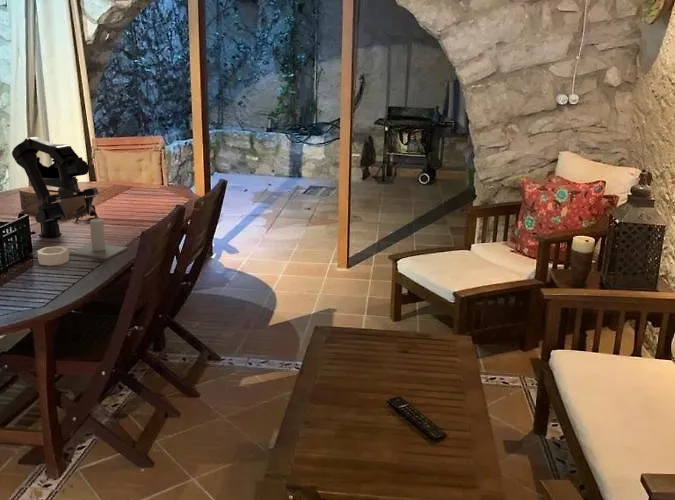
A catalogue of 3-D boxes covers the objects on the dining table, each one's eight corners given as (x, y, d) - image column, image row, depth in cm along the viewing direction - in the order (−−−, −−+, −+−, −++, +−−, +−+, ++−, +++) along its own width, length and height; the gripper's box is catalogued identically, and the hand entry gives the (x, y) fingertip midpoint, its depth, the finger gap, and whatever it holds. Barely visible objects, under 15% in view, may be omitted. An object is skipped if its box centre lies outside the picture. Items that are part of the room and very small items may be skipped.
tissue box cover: (86, 212, 318) (84, 191, 315) (62, 219, 306) (60, 197, 303) (46, 205, 328) (44, 185, 325) (21, 211, 316) (19, 190, 313)
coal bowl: (82, 193, 353) (79, 157, 348) (48, 200, 337) (44, 162, 331) (58, 188, 363) (54, 153, 358) (24, 194, 347) (20, 158, 342)
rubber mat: (69, 254, 257) (69, 252, 256) (91, 244, 269) (91, 242, 269) (106, 259, 253) (106, 257, 252) (127, 249, 266) (127, 247, 265)
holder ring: (32, 263, 246) (31, 252, 245) (50, 255, 255) (49, 245, 254) (56, 266, 244) (55, 256, 242) (74, 258, 253) (73, 248, 252)
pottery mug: (96, 224, 300) (85, 209, 296) (79, 231, 303) (67, 217, 299) (105, 211, 311) (94, 196, 307) (88, 218, 313) (77, 204, 309)
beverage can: (90, 249, 261) (88, 219, 258) (103, 247, 264) (101, 217, 260) (94, 252, 258) (91, 222, 254) (107, 250, 260) (104, 220, 257)
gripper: (36, 183, 256) (46, 223, 259) (84, 174, 256) (94, 215, 259) (47, 181, 267) (57, 219, 270) (94, 173, 267) (103, 211, 270)
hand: (77, 216), depth 267 cm, fingers open, 9 cm apart
